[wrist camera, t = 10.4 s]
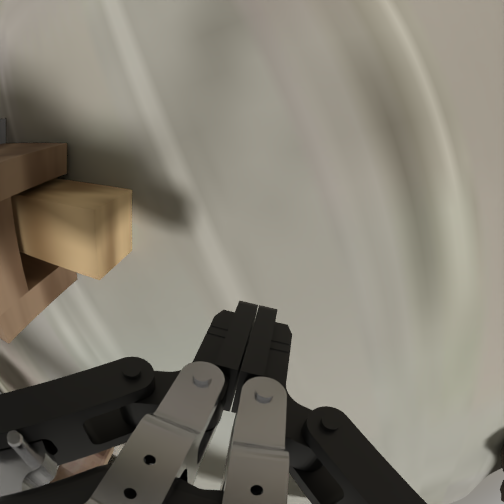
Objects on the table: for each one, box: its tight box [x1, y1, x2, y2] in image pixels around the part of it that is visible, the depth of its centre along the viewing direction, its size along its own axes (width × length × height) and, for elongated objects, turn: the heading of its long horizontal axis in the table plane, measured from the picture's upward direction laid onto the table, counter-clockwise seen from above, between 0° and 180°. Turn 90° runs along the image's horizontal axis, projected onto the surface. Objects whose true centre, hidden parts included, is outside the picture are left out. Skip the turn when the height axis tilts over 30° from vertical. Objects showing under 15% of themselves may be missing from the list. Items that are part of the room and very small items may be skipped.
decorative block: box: [50, 447, 114, 483], centre depth 25 cm, size 11×6×20 cm, turn 152°
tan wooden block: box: [11, 178, 132, 280], centre depth 16 cm, size 10×4×4 cm, turn 81°
